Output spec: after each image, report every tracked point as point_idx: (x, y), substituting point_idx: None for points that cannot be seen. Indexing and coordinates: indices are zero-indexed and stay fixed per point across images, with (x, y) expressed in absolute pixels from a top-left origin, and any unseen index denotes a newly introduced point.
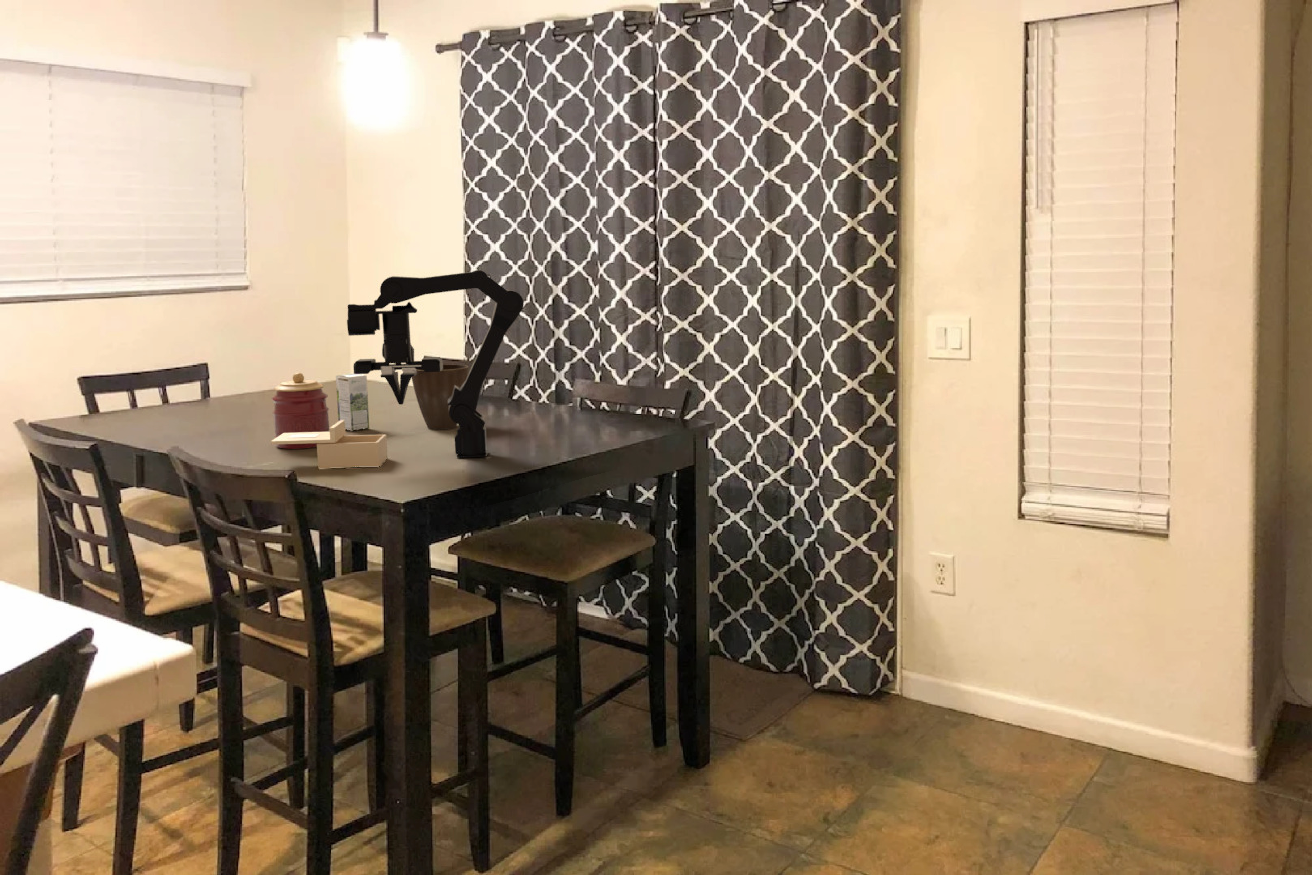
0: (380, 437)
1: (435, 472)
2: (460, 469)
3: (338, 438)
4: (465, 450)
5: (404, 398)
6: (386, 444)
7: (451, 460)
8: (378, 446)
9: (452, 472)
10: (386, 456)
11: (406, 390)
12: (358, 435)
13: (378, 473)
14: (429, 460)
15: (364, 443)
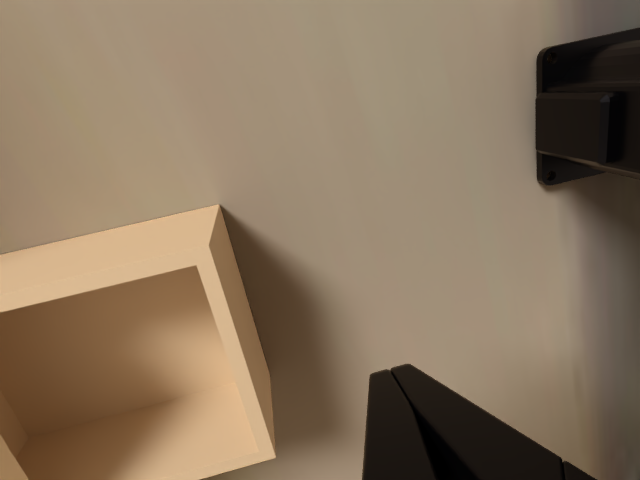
0: (222, 340)
1: (494, 411)
2: (566, 361)
3: (19, 478)
4: (594, 168)
5: (449, 394)
6: (216, 235)
7: (517, 218)
8: (273, 436)
9: (546, 402)
10: (226, 234)
11: (542, 463)
12: (26, 293)
13: (308, 453)
14: (427, 226)
15: (209, 473)
